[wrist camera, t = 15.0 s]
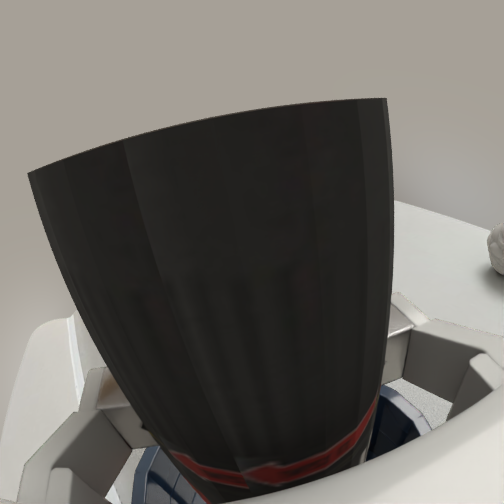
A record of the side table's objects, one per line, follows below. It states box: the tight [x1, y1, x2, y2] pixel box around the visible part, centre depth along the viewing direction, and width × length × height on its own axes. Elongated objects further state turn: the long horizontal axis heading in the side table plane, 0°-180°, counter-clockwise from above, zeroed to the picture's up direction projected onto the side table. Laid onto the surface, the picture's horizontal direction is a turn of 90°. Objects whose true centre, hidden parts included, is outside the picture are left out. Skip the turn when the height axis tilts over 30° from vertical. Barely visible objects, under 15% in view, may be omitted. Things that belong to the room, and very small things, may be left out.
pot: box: [131, 385, 432, 504], centre depth 12 cm, size 13×13×6 cm
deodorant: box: [28, 98, 394, 504], centre depth 8 cm, size 6×6×15 cm
